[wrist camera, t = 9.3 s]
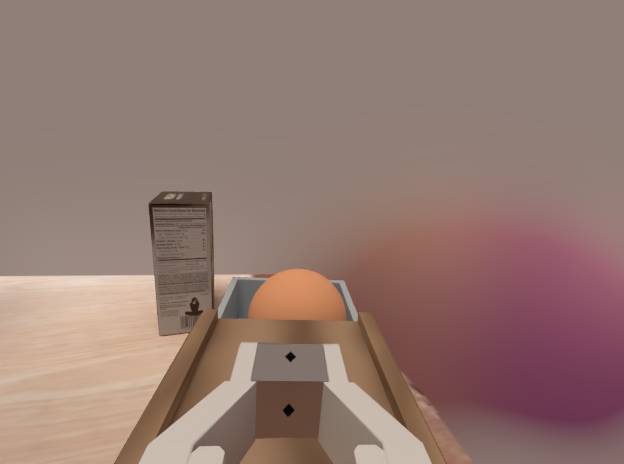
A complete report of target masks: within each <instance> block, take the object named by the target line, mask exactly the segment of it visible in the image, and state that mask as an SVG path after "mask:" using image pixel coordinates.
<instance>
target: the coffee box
mask: <svg viewBox="0 0 624 464" xmlns="http://www.w3.org/2000/svg"><path fill="white" fill-rule="evenodd" d="M149 214H150V227H151V239H152V252H153V264H154V276H155V289H156V301H157V314H158V325H159V335H160V336H164V335H172V334H180V333H187V332H190V331H191V329H192V328H193V326H194V324H195V323H196V321H197V319H198V318H200V316H201V314H202V312H203V311H204V309H214V254H213V253H214V251H213V211H212V193H211V192H161V193H160V194H159V195H158V196H157V197H155V198H154V199H153V200H152V201H151V202H150V203H149Z"/></svg>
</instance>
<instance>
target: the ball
mask: <svg viewBox="0 0 624 464" xmlns="http://www.w3.org/2000/svg"><path fill="white" fill-rule="evenodd" d="M248 319H274V320H322V321H346V310H345V305H344V302H343V299H342V297H341V295H340V294H339V292H338V290H337V289H336V287H335V286H334V285H333V284H332V283H331V282H330V281H329V280H327V279H326V278H325V277H323V276H322V275H320V274H318V273H316V272H313V271H310V270H305V269H291V270H286V271H282V272H280V273H278V274H275V275H274V276H272V277H270V278H269V279H268V280H267V281H265V282H264V283H263V284H262V285H261V286H260V288H259V289H258V290H257V292H256V293H255V295H254V297H253V299H252V301H251V304H250V307H249V312H248Z"/></svg>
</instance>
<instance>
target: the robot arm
mask: <svg viewBox="0 0 624 464" xmlns="http://www.w3.org/2000/svg"><path fill="white" fill-rule="evenodd" d="M263 438H318V441H319V443H320V444H321V446H322V447H323V449H324V450H325V452H326V454H327V455H328V457H329V458H330V460H331V461H332V463H333V464H432V463H431V461H430V458H429V456H428V454H427V452H426V450H425V447H424V445H423V443H422V442H421V441H420V440H418V439H417V438H416V437H415V436H414V435H413V434H412V433H411V432H409V431H408V430H407V429H406V428H405V427H404V426H403V425H402V424H400V423H399V422H398V421H397V420H396V419H395V418H394V417H392V416H391V415H390V414H389V413H388V412H387V411H386V410H385V409H383V408H382V407H381V406H380V405H379V404H378V403H377V402H376V401H374V400H373V399H372V398H371V397H370V396H369V395H368V394H366V393H365V392H364V391H363V390H362V389H361V388H360V387H359V386H357V385H356V384H355V383H354V382H349V380H348V376H347V372H346V368H345V364H344V361H343V357H342V353H341V349H340V345H339V344H286V343H263V342H258V343H257V342H241V344H240V345H239V349H238V353H237V356H236V360H235V364H234V367H233V371H232V375H231V378H230V381H224V382H223V383H222V384H220V385H219V386H218V387H217V388H216V389H214V390H213V391H212V392H211V393H210V394H208V395H207V396H206V397H205V398H204V399H202V400H201V401H200V402H199V403H198V404H196V405H195V406H194V407H193V408H192V409H190V410H189V411H188V412H187V413H186V414H184V415H183V416H182V417H181V418H180V419H178V420H177V421H176V422H175V423H174V424H172V425H171V426H170V427H169V428H167V429H166V430H165V431H164V432H163V433H161V434H160V435H159V436H158V437H157V438H155V439H154V440H153V441H152V442H151V443H149V444H148V446H147V448H146V450H145V452H144V454H143V456H142V458H141V460H140V462H139V464H239V463H240V462H241V460H242V459H243V457H244V456H245V455H246V453H247V452H248V450H249V449H250V447H251V446H252V445H253V443H254V442H255V439H263Z"/></svg>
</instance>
